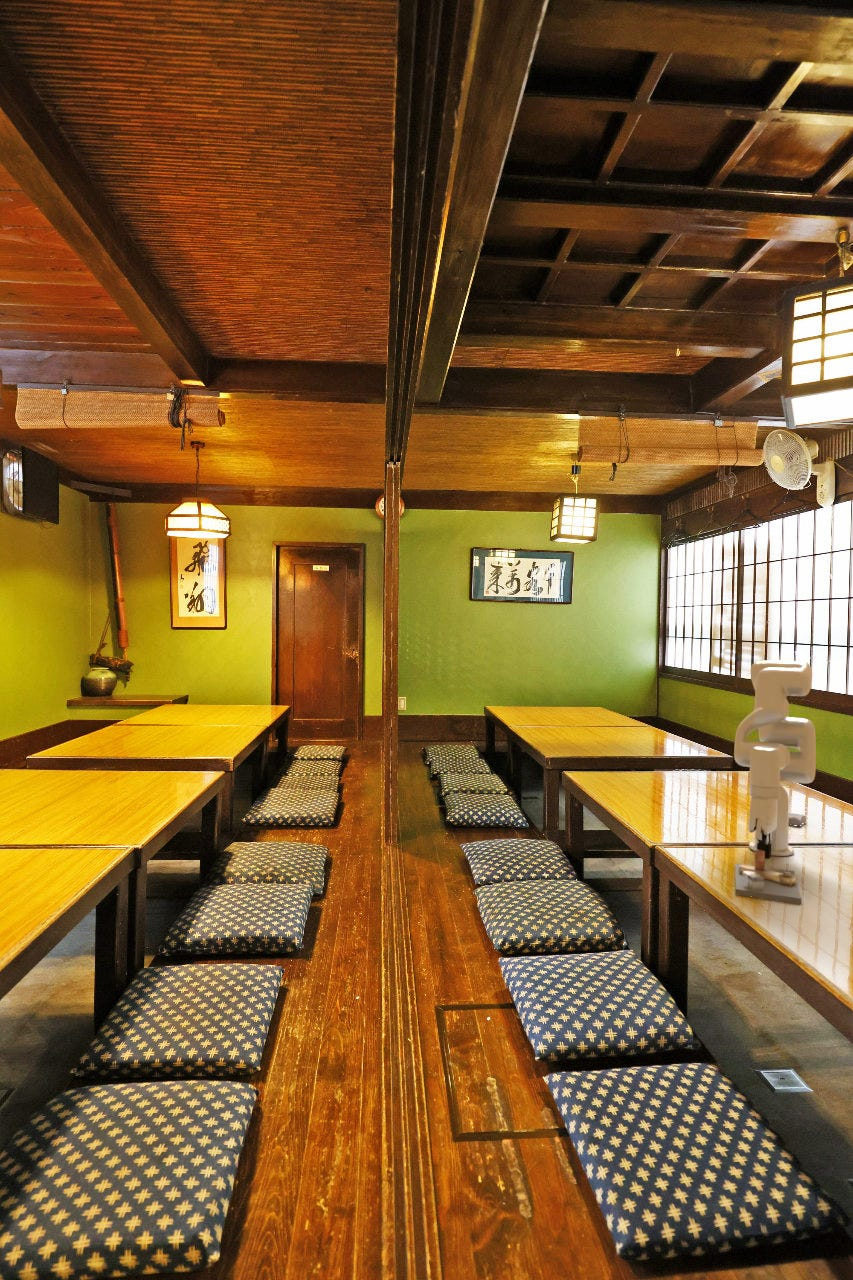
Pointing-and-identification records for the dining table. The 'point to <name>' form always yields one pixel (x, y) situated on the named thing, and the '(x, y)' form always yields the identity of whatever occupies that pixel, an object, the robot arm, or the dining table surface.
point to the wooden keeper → (754, 880)
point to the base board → (768, 888)
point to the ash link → (767, 874)
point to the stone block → (796, 819)
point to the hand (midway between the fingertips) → (764, 857)
